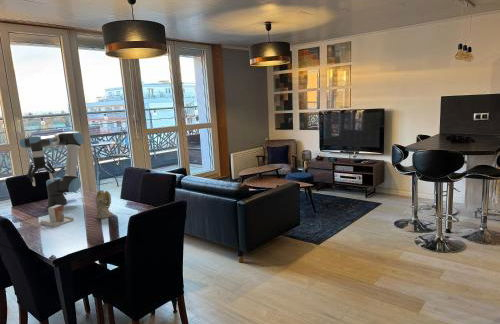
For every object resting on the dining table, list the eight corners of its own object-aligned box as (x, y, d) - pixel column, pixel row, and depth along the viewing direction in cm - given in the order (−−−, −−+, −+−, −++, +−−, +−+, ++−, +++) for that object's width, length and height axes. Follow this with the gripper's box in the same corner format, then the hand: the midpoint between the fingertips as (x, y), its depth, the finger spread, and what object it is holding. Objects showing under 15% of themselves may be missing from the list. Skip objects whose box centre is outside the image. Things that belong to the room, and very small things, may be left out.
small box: (56, 222, 243) (53, 208, 242) (49, 222, 245) (47, 207, 243) (64, 218, 251) (62, 204, 249) (58, 218, 252) (56, 204, 251)
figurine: (96, 220, 246) (92, 193, 242) (95, 216, 256) (91, 190, 253) (113, 217, 251) (110, 190, 248) (112, 213, 261) (108, 187, 258)
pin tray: (59, 217, 258) (58, 207, 257) (73, 220, 249) (71, 209, 247) (40, 223, 247) (38, 212, 245) (54, 226, 237) (52, 215, 236)
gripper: (51, 153, 269) (56, 179, 273) (17, 159, 248) (23, 187, 252) (57, 153, 265) (61, 180, 269) (23, 159, 244) (28, 188, 248)
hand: (43, 183), depth 260 cm, fingers open, 13 cm apart
